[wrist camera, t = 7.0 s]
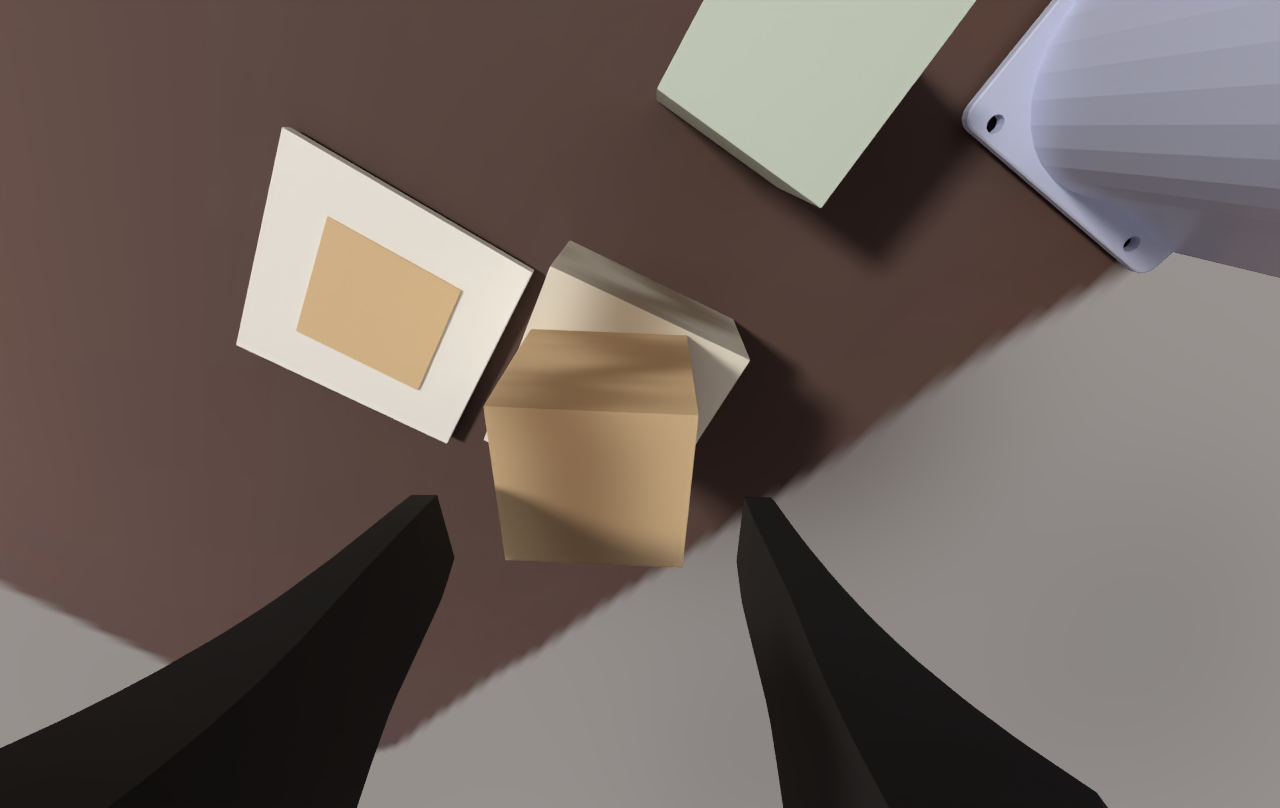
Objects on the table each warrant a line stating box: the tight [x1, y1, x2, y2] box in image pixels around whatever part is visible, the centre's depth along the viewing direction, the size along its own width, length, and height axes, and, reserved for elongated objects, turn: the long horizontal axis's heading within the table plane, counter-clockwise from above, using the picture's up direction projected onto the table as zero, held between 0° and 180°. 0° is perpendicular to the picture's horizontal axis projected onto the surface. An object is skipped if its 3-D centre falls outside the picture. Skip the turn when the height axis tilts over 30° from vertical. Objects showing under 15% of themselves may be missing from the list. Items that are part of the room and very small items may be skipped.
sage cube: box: [656, 0, 976, 208], centre depth 13 cm, size 5×5×5 cm
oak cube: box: [483, 329, 699, 568], centre depth 15 cm, size 5×5×5 cm
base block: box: [484, 241, 750, 443], centre depth 19 cm, size 7×7×4 cm
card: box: [236, 127, 534, 443], centre depth 19 cm, size 9×9×1 cm
